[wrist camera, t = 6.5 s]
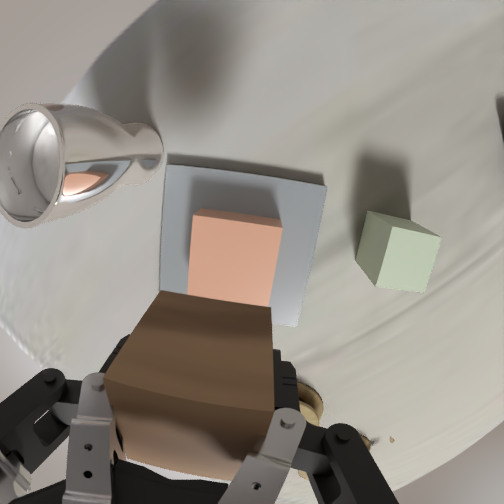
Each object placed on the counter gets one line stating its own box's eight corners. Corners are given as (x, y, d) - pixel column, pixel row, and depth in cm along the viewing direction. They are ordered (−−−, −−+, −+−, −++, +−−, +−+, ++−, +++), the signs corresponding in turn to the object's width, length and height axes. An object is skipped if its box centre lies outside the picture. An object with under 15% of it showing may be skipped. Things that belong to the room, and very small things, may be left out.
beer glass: (171, 185, 26) (77, 225, 12) (107, 194, 26) (-4, 238, 12) (165, 111, 23) (64, 79, 9) (100, 126, 24) (-17, 123, 10)
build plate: (170, 164, 25) (154, 166, 21) (324, 185, 25) (335, 191, 21) (162, 301, 30) (150, 320, 26) (295, 321, 30) (299, 344, 26)
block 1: (161, 289, 13) (102, 377, 7) (271, 307, 13) (274, 411, 7) (163, 370, 14) (127, 458, 9) (254, 386, 14) (249, 482, 9)
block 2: (367, 210, 26) (392, 226, 20) (410, 220, 26) (441, 237, 20) (355, 260, 27) (375, 286, 22) (397, 267, 27) (424, 292, 22)
